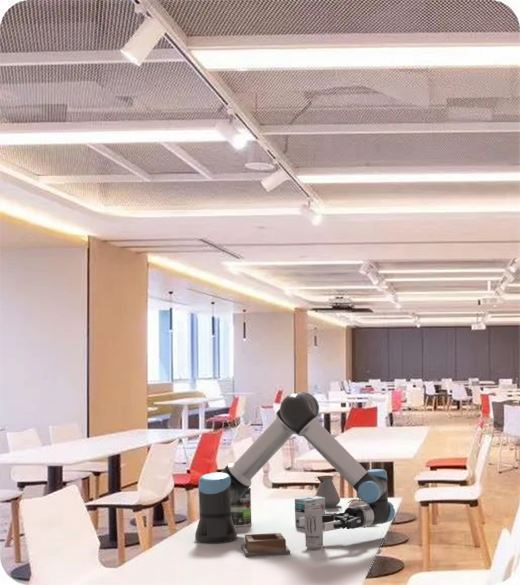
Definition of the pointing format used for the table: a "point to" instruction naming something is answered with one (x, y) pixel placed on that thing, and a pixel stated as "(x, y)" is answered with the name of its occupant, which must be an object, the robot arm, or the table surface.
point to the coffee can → (242, 510)
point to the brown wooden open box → (265, 545)
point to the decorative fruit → (356, 502)
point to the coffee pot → (327, 491)
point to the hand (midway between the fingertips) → (312, 524)
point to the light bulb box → (301, 505)
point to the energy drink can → (313, 526)
